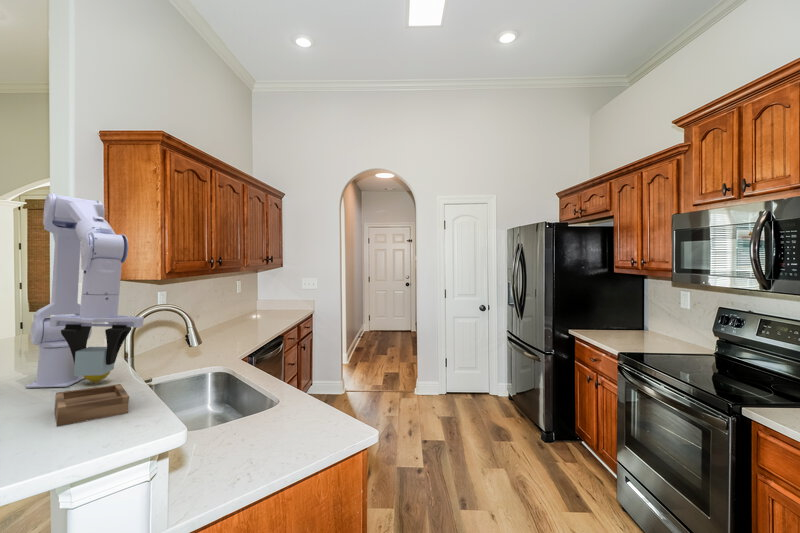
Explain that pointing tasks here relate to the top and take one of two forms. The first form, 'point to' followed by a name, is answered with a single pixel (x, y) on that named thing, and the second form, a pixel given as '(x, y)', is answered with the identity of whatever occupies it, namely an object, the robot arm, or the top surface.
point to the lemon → (96, 377)
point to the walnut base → (90, 404)
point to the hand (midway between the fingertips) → (95, 363)
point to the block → (91, 362)
